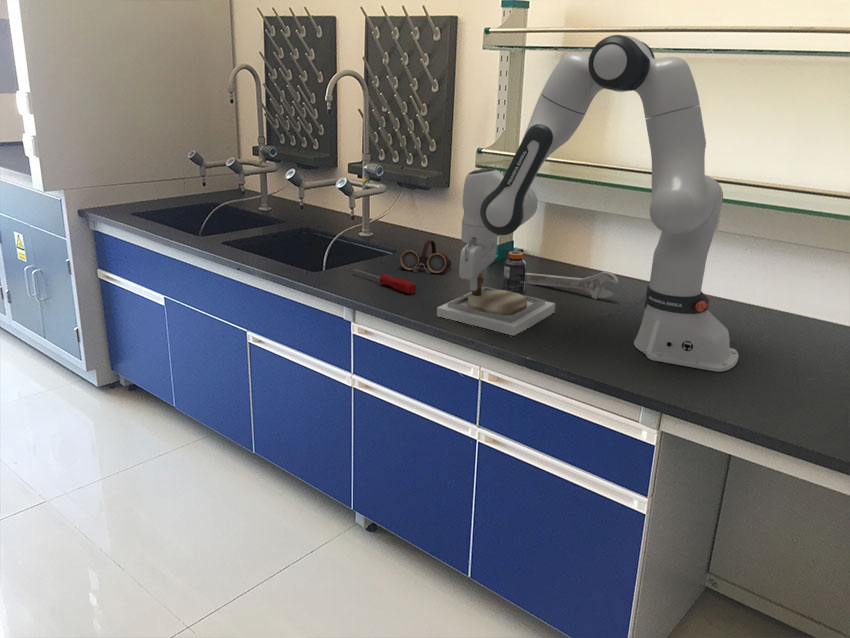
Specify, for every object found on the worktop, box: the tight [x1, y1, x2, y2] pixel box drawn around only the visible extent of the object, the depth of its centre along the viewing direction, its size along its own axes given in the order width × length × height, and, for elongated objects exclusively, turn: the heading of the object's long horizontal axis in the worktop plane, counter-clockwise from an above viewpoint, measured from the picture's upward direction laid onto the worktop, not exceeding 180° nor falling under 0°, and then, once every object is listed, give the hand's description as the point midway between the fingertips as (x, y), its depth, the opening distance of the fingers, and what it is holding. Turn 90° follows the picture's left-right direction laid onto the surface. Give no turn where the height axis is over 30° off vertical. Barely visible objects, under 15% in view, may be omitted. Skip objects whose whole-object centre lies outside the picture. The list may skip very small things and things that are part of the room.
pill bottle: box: [502, 250, 527, 294], centre depth 201 cm, size 6×6×11 cm
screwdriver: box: [353, 268, 417, 295], centre depth 205 cm, size 4×25×4 cm, turn 46°
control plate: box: [436, 286, 556, 336], centre depth 183 cm, size 22×22×4 cm
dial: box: [468, 274, 527, 314], centre depth 182 cm, size 15×15×7 cm
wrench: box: [525, 271, 619, 300], centre depth 202 cm, size 8×2×30 cm
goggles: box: [399, 239, 452, 275], centre depth 222 cm, size 15×13×10 cm
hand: (476, 286), depth 184 cm, fingers open, 4 cm apart
